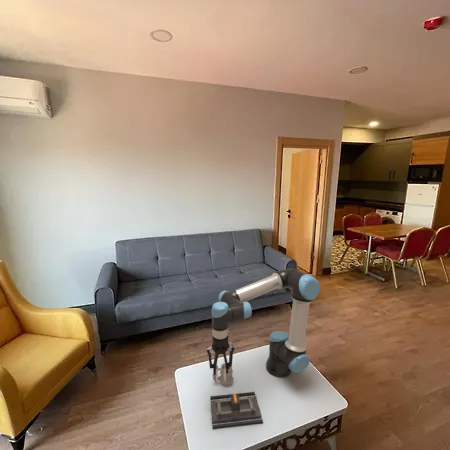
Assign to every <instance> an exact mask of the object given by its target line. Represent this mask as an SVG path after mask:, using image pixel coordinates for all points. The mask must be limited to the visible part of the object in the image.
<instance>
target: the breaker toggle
mask: <svg viewBox="0 0 450 450" xmlns="http://www.w3.org/2000/svg"><path fill="white" fill-rule="evenodd" d="M232 394H233V395H230V396H231V398H230V399H231V410H232V411H234V410H240V400H239V398H240V397H239V396H238V395H236V394H237V393H236V392H235V393H232Z"/></svg>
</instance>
